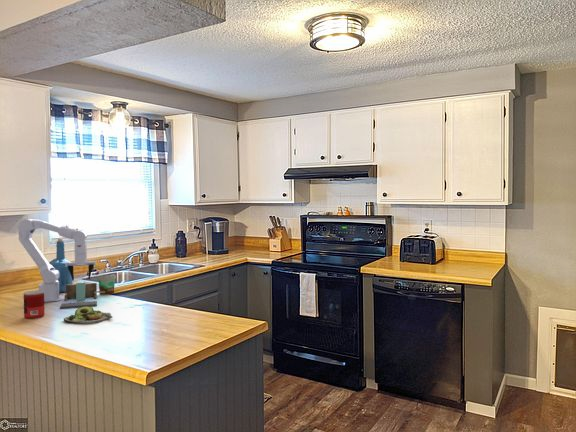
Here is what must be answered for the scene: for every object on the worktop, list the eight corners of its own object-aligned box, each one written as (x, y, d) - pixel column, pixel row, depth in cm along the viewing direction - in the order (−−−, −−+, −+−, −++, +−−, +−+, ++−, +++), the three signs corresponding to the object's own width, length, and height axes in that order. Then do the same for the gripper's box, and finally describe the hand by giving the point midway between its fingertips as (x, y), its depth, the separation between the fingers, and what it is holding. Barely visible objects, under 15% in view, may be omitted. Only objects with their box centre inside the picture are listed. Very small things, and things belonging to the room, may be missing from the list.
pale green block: (76, 300, 235) (76, 283, 235) (77, 297, 243) (77, 280, 243) (84, 300, 237) (84, 282, 237) (85, 297, 244) (85, 280, 244)
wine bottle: (78, 289, 268) (78, 238, 267) (63, 293, 255) (63, 239, 254) (57, 288, 270) (57, 237, 269) (41, 292, 257) (41, 239, 256)
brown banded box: (64, 301, 234) (64, 287, 234) (66, 297, 243) (65, 284, 243) (96, 298, 240) (96, 285, 240) (96, 295, 248) (96, 282, 248)
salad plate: (124, 316, 202) (124, 306, 202) (96, 326, 185) (95, 315, 185) (88, 313, 208) (88, 303, 208) (57, 323, 191) (57, 312, 191)
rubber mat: (60, 308, 216) (60, 306, 216) (61, 305, 224) (61, 303, 224) (96, 306, 222) (96, 304, 222) (97, 302, 230) (96, 300, 230)
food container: (108, 295, 249) (107, 277, 249) (97, 294, 251) (97, 276, 250) (120, 291, 262) (120, 273, 261) (110, 290, 263) (110, 273, 263)
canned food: (48, 315, 204) (48, 290, 203) (33, 319, 196) (32, 294, 196) (35, 314, 206) (35, 289, 206) (19, 318, 198) (19, 293, 198)
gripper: (95, 252, 246) (96, 277, 246) (65, 253, 240) (66, 279, 241) (95, 253, 239) (96, 279, 239) (64, 254, 234) (65, 281, 234)
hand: (81, 279), depth 240 cm, fingers open, 7 cm apart
